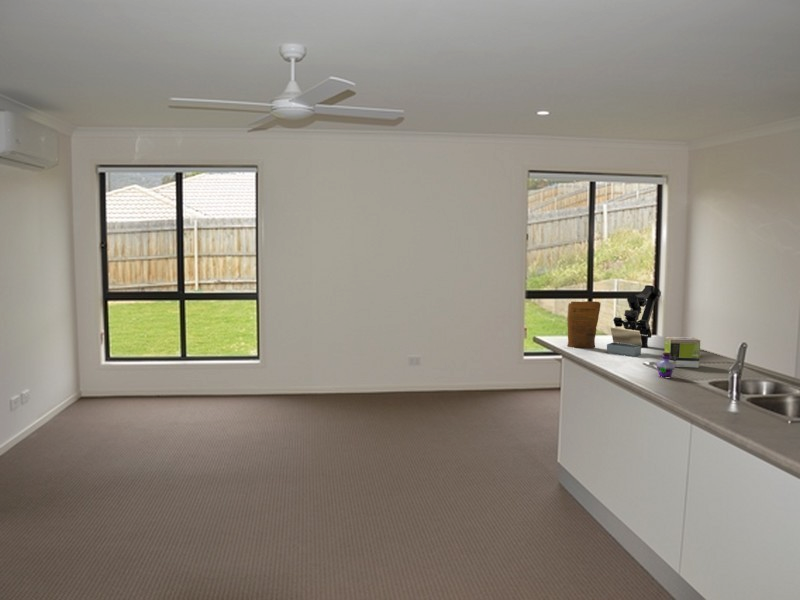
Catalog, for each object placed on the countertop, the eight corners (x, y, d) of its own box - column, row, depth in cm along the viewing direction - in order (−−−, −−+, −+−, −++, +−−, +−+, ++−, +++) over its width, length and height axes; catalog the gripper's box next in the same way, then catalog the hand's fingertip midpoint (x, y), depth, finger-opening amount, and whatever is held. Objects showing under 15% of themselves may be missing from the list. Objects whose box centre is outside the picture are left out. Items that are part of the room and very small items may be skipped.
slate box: (613, 350, 371) (613, 342, 370) (640, 354, 361) (641, 345, 360) (606, 352, 363) (607, 344, 363) (634, 357, 353) (635, 348, 353)
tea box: (692, 364, 337) (694, 336, 336) (699, 368, 328) (701, 340, 326) (663, 363, 339) (665, 335, 337) (669, 367, 329) (671, 339, 327)
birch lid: (613, 342, 370) (613, 341, 371) (641, 345, 360) (642, 344, 361) (610, 328, 365) (611, 327, 366) (639, 331, 355) (639, 330, 355)
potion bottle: (655, 378, 303) (657, 353, 301) (654, 374, 311) (656, 350, 309) (675, 379, 300) (676, 355, 298) (674, 376, 308) (675, 351, 306)
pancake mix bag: (599, 349, 374) (601, 302, 371) (566, 347, 377) (568, 301, 373) (596, 347, 381) (599, 301, 378) (564, 345, 383) (567, 299, 380)
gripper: (615, 303, 371) (607, 323, 363) (647, 306, 359) (639, 327, 352) (619, 315, 378) (611, 335, 370) (651, 319, 366) (643, 340, 358)
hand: (626, 334), depth 362 cm, fingers closed, pressing on birch lid
